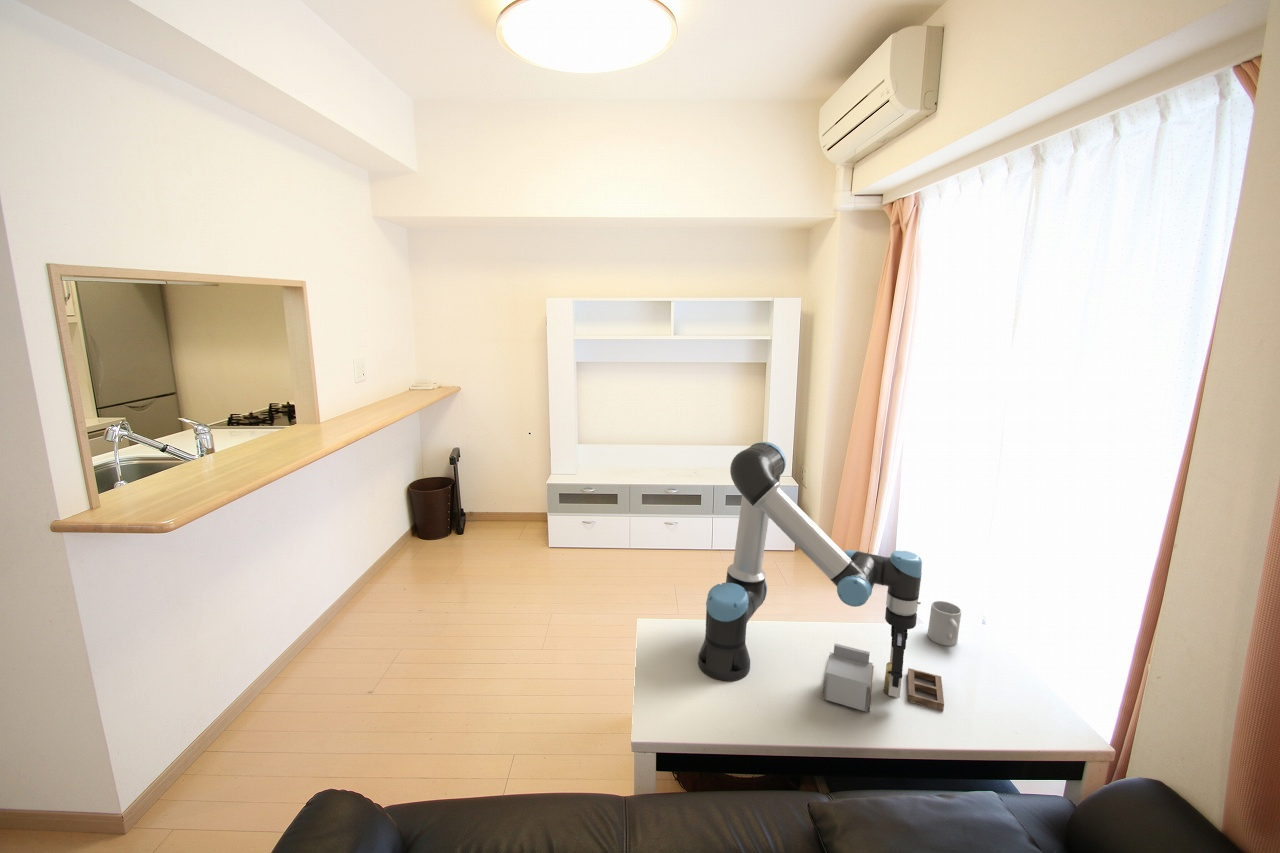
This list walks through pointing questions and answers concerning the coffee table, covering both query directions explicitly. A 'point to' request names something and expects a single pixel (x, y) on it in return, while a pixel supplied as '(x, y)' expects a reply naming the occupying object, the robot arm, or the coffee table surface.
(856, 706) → the cover
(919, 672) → the socket block
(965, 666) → the coffee table surface
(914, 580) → the robot arm
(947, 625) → the mug
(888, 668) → the peg
